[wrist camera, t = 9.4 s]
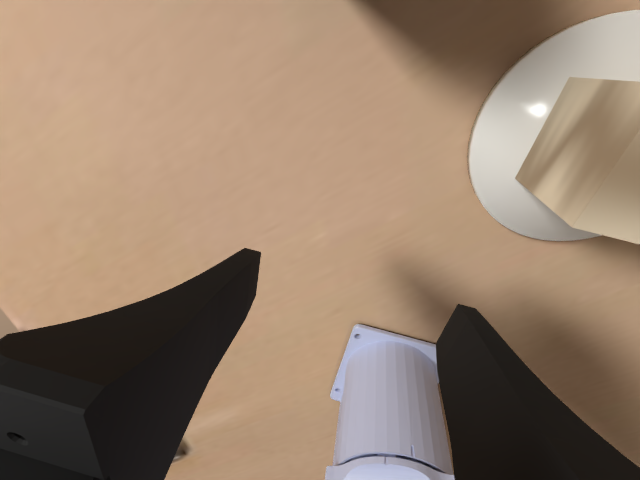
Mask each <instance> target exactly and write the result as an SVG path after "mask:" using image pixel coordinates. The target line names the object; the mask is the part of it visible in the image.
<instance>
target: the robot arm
mask: <svg viewBox="0 0 640 480" xmlns="http://www.w3.org/2000/svg"><path fill="white" fill-rule="evenodd" d="M260 257H261V252H258V251H255V250H251V249H247V248H244V249H242V250H241V251H239V252H237V253H235V254H234V255H232V256H230V257H229V258H227V259H226V260H224V261H222V262H221V263H219V264H217V265H216V266H214V267H212V268H210V269H209V270H207V271H205V272H203V273H202V274H200V275H198V276H196V277H194V278H192V279H190V280H188V281H186V282H184V283H182V284H180V285H178V286H176V287H174V288H172V289H169V290H167V291H165V292H162V293H160V294H157V295H155V296H152V297H150V298H147V299H145V300H142V301H139V302H136V303H133V304H130V305H127V306H124V307H121V308H118V309H115V310H112V311H109V312H105V313H102V314H98V315H94V316H91V317H87V318H83V319H79V320H75V321H71V322H67V323H62V324H58V325H53V326H48V327H43V328H38V329H33V330H28V331H23V332H18V333H12V334H7V335H6V336H4V337H3V338H1V339H0V480H164V479H165V477H166V474H167V472H168V470H169V467H170V465H171V463H172V460H173V458H174V456H175V454H176V451H177V449H178V447H179V444H180V442H181V440H182V438H183V435H184V433H185V431H186V429H187V427H188V424H189V422H190V420H191V418H192V416H193V414H194V411H195V409H196V407H197V405H198V403H199V401H200V399H201V397H202V394H203V392H204V390H205V388H206V386H207V384H208V382H209V380H210V378H211V376H212V374H213V373H214V371H215V369H216V367H217V366H218V364H219V362H220V361H221V359H222V357H223V356H224V354H225V352H226V351H227V349H228V347H229V346H230V344H231V342H232V341H233V339H234V337H235V336H236V334H237V332H238V331H239V329H240V327H241V326H242V324H243V322H244V320H245V319H246V317H247V314H248V312H249V310H250V308H251V305H252V303H253V301H254V298H255V296H256V290H257V281H258V273H259V265H260ZM356 334H359V335H356ZM438 383H439V384H440V389H441V394H442V399H443V404H444V410H445V415H446V420H447V425H448V430H449V435H450V442H451V448H452V457H453V468H454V475H453V470H452V464H451V458H450V453H449V447H448V441H447V436H446V430H445V424H444V419H443V413H442V407H441V402H440V396H439V390H438ZM330 397H331V398H332V399H333V400H336V401H340V408H339V417H338V425H337V433H336V441H335V450H334V458H333V466H327V468H326V475H325V480H640V468H639V467H638V466H637V465H635V464H634V463H633V462H631V461H630V460H629V459H628V458H626V457H625V456H624V455H623V454H621V453H620V452H619V451H618V450H616V449H615V448H614V447H613V446H612V445H610V444H609V443H608V442H607V441H606V440H604V439H603V438H602V437H601V436H600V435H598V434H597V433H596V432H595V431H594V430H592V429H591V428H590V427H589V426H588V425H587V424H586V423H584V422H583V421H582V420H581V419H580V418H579V417H578V416H577V415H576V414H575V413H573V412H572V411H571V410H570V409H569V408H568V407H567V406H566V405H565V404H564V403H563V402H562V401H561V400H559V399H558V398H557V397H556V396H555V395H554V394H553V393H552V392H551V391H550V390H549V389H548V388H547V387H546V386H545V385H544V384H543V383H542V382H541V381H540V380H539V378H538V377H537V376H536V375H535V374H534V373H533V372H532V371H531V370H530V369H529V368H528V367H527V366H526V365H525V364H524V363H523V361H522V360H521V359H520V358H519V357H518V356H517V355H516V354H515V353H514V351H513V350H512V349H511V348H510V347H509V346H508V345H507V343H506V342H505V341H504V340H503V339H502V338H501V336H500V335H499V334H498V333H497V332H496V331H495V330H494V328H493V327H492V326H491V325H490V324H489V323H488V322H487V320H486V319H485V318H484V317H483V316H482V315H481V314H480V313H479V312H478V311H477V310H476V309H475V308H472V307H468V306H464V305H460V304H458V305H457V307H456V308H455V310H454V312H453V314H452V316H451V317H450V319H449V321H448V323H447V325H446V326H445V328H444V330H443V332H442V334H441V335H440V337H439V339H438V341H437V343H436V344H432V343H428V342H425V341H421V340H417V339H414V338H410V337H406V336H402V335H399V334H395V333H391V332H388V331H384V330H380V329H376V328H373V327H369V326H365V325H362V324H356V325H355V326H354V327H353V330H352V332H351V335H350V338H349V341H348V344H347V347H346V350H345V352H344V355H343V358H342V361H341V364H340V367H339V370H338V372H337V375H336V378H335V381H334V384H333V387H332V390H331V393H330Z"/></svg>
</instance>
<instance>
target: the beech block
mask: <svg viewBox="0 0 640 480" xmlns="http://www.w3.org/2000/svg"><path fill="white" fill-rule="evenodd" d="M515 179H516V180H517V181H518V182H520V183H521V184H522V185H523V186H524V187H525V188H527V189H528V190H529V191H530V192H531V193H532V194H534V195H535V196H536V197H537V198H538V199H539V200H541V201H542V202H543V203H544V204H545V205H546V206H548V207H549V208H550V209H551V210H552V211H553V212H555V213H556V214H557V215H558V216H559V217H560V218H562V219H563V220H564V221H565V222H566V223H567V224H569V225H570V226H571V227H572V228H576V229H580V230H584V231H588V232H592V233H596V234H600V235H604V236H608V237H612V238H616V239H620V240H624V241H628V242H632V243H636V244H640V82H636V81H622V80H607V79H593V78H578V77H569V78H568V80H567V82H566V84H565V86H564V88H563V90H562V91H561V93H560V95H559V97H558V99H557V101H556V103H555V104H554V106H553V108H552V110H551V112H550V114H549V116H548V117H547V119H546V121H545V123H544V125H543V127H542V129H541V130H540V132H539V134H538V136H537V138H536V140H535V142H534V144H533V145H532V147H531V149H530V151H529V153H528V155H527V157H526V158H525V160H524V162H523V164H522V166H521V168H520V170H519V171H518V173H517V175H516V177H515Z"/></svg>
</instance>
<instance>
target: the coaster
mask: <svg viewBox="0 0 640 480" xmlns="http://www.w3.org/2000/svg"><path fill="white" fill-rule="evenodd" d="M569 77H578V78H593V79H607V80H622V81H636V82H640V10H631V11H624V12H618V13H612V14H608V15H603V16H599V17H596V18H592V19H589V20H585V21H582V22H580V23H577V24H575V25H572V26H570V27H568V28H565V29H563V30H561V31H560V32H558V33H556V34H554V35H552V36H550V37H548V38H547V39H545V40H544V41H542V42H541V43H539V44H538V45H536V46H535V47H533V48H532V49H531V50H529V51H528V52H527V53H526V54H525V55H523V56H522V57H521V58H520V59H519V60H517V61H516V62H515V63H514V64H513V65H512V66H511V67H510V68H509V69H508V70H507V71H506V72H505V73H504V74H503V76H502V77H501V78H500V79H499V81H498V82H497V83H496V84H495V86H494V87H493V88H492V90H491V91H490V93H489V94H488V96H487V98H486V99H485V101H484V102H483V104H482V106H481V108H480V110H479V112H478V114H477V116H476V119H475V122H474V125H473V127H472V130H471V134H470V139H469V143H468V153H467V163H468V173H469V177H470V182H471V184H472V187H473V190H474V192H475V194H476V195H477V197H478V199H479V201H480V202H481V204H482V205H483V206H484V208H485V209H486V210H487V211H488V212H489V214H490V215H491V216H492V217H493V218H494V219H496V220H497V221H498V222H499V223H500V224H502V225H504V226H505V227H507V228H508V229H510V230H512V231H514V232H516V233H519V234H521V235H524V236H528V237H531V238H536V239H541V240H549V241H573V240H581V239H588V238H592V237H597V236H601V235H600V234H596V233H592V232H588V231H584V230H580V229H576V228H572V227H571V226H570V225H569V224H567V223H566V222H565V221H564V220H563V219H562V218H560V217H559V216H558V215H557V214H556V213H555V212H553V211H552V210H551V209H550V208H549V207H548V206H546V205H545V204H544V203H543V202H542V201H541V200H539V199H538V198H537V197H536V196H535V195H534V194H532V193H531V192H530V191H529V190H528V189H527V188H525V187H524V186H523V185H522V184H521V183H520V182H518V181H517V180H516V179H515V177H516V175H517V173H518V171H519V170H520V168H521V166H522V164H523V162H524V160H525V158H526V157H527V155H528V153H529V151H530V149H531V147H532V145H533V144H534V142H535V140H536V138H537V136H538V134H539V132H540V130H541V129H542V127H543V125H544V123H545V121H546V119H547V117H548V116H549V114H550V112H551V110H552V108H553V106H554V104H555V103H556V101H557V99H558V97H559V95H560V93H561V91H562V90H563V88H564V86H565V84H566V82H567V80H568V78H569Z"/></svg>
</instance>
